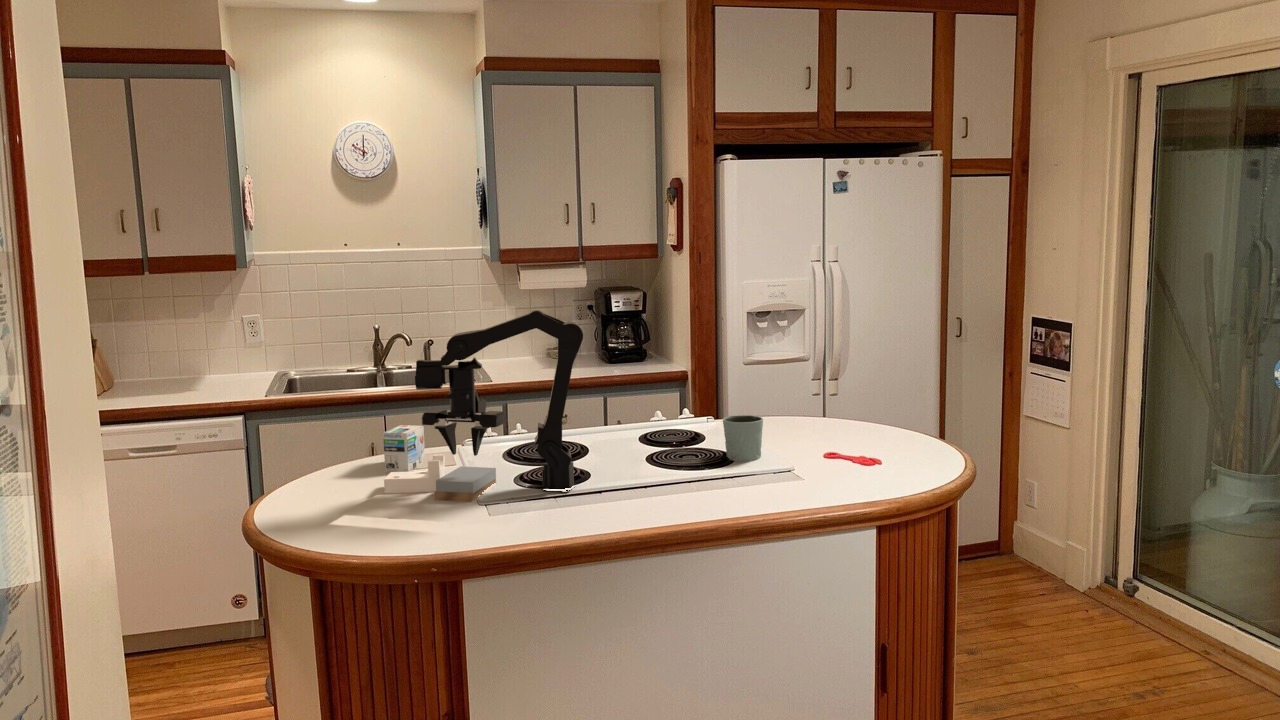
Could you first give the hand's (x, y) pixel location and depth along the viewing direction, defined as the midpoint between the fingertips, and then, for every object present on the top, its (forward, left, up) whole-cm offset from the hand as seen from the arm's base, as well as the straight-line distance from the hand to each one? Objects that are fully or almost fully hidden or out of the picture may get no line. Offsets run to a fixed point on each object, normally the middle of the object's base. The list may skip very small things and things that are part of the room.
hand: (465, 454), depth 226 cm
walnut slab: (0, 0, -10) cm, 10 cm away
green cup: (-58, -40, -9) cm, 71 cm away
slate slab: (0, 0, -7) cm, 7 cm away
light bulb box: (+26, -18, -9) cm, 33 cm away
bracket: (+14, -1, -10) cm, 17 cm away
